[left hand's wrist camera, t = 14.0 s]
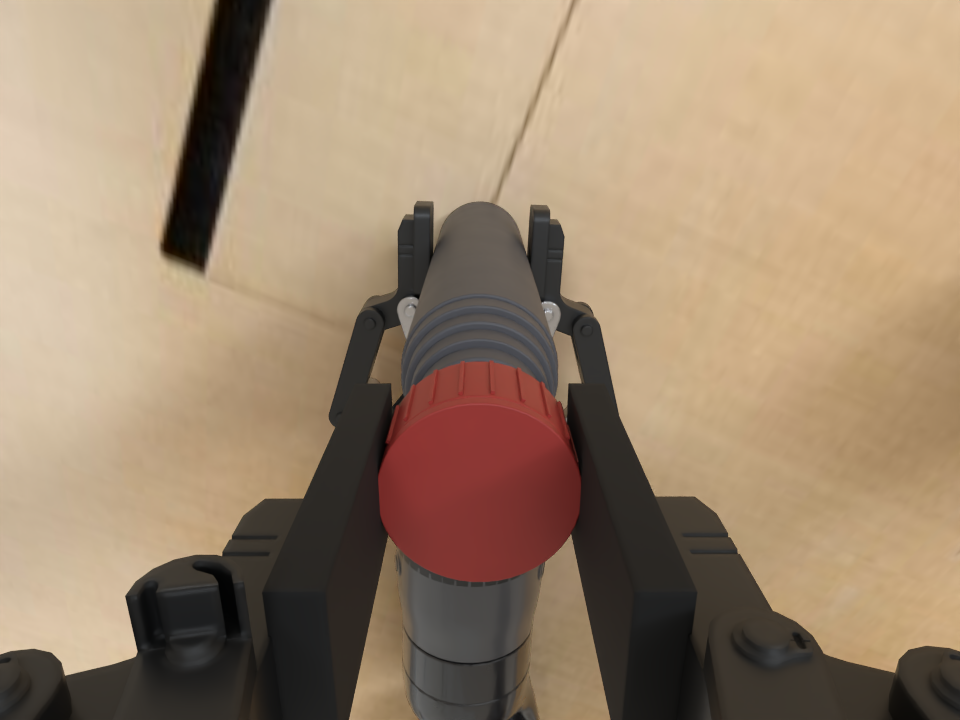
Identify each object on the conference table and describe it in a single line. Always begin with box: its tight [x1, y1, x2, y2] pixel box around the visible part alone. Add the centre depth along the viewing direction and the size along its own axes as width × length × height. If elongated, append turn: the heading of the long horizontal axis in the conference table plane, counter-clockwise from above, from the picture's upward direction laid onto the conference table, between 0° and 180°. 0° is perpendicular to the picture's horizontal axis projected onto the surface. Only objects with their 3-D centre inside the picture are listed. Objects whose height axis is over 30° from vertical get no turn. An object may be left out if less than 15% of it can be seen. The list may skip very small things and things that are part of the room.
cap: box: [378, 360, 581, 582], centre depth 14 cm, size 4×4×2 cm
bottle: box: [401, 202, 558, 398], centre depth 24 cm, size 4×4×24 cm
